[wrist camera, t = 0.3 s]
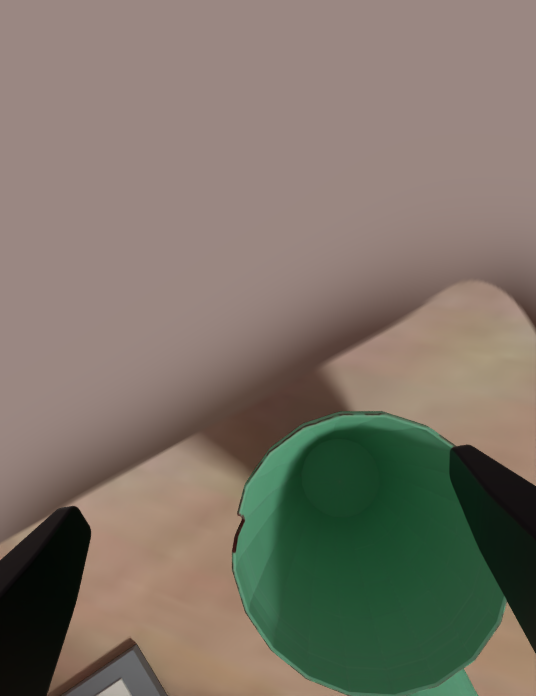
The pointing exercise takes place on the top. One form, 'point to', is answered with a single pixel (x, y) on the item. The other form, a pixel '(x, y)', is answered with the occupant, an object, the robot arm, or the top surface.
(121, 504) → the top surface
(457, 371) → the top surface
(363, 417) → the mug
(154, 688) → the whiteboard
